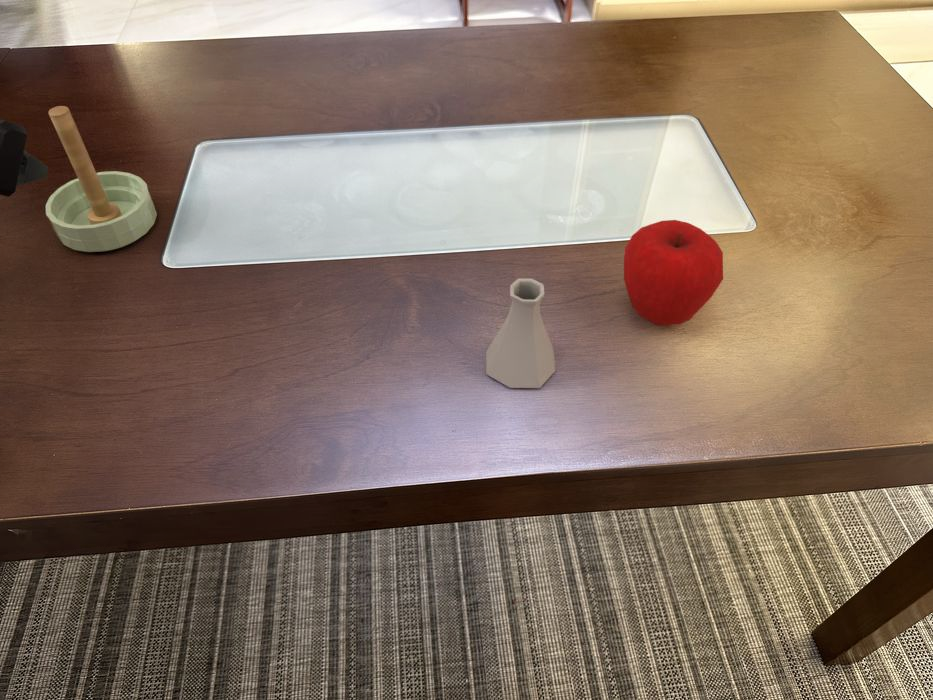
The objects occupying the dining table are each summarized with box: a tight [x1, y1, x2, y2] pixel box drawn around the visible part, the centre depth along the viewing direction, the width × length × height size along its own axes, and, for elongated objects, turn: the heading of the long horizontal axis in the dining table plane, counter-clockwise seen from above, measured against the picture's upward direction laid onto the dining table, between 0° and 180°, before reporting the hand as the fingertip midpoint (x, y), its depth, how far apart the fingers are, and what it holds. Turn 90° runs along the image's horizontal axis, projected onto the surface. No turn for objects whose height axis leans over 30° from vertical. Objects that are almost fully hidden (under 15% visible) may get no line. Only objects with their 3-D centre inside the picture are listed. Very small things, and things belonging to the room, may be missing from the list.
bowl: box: [45, 170, 158, 253], centre depth 85 cm, size 11×11×4 cm
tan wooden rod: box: [47, 105, 122, 225], centre depth 81 cm, size 4×4×14 cm
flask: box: [485, 277, 556, 389], centre depth 69 cm, size 7×7×10 cm
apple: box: [623, 219, 724, 326], centre depth 73 cm, size 10×10×11 cm
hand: (8, 162), depth 72 cm, fingers open, 9 cm apart
